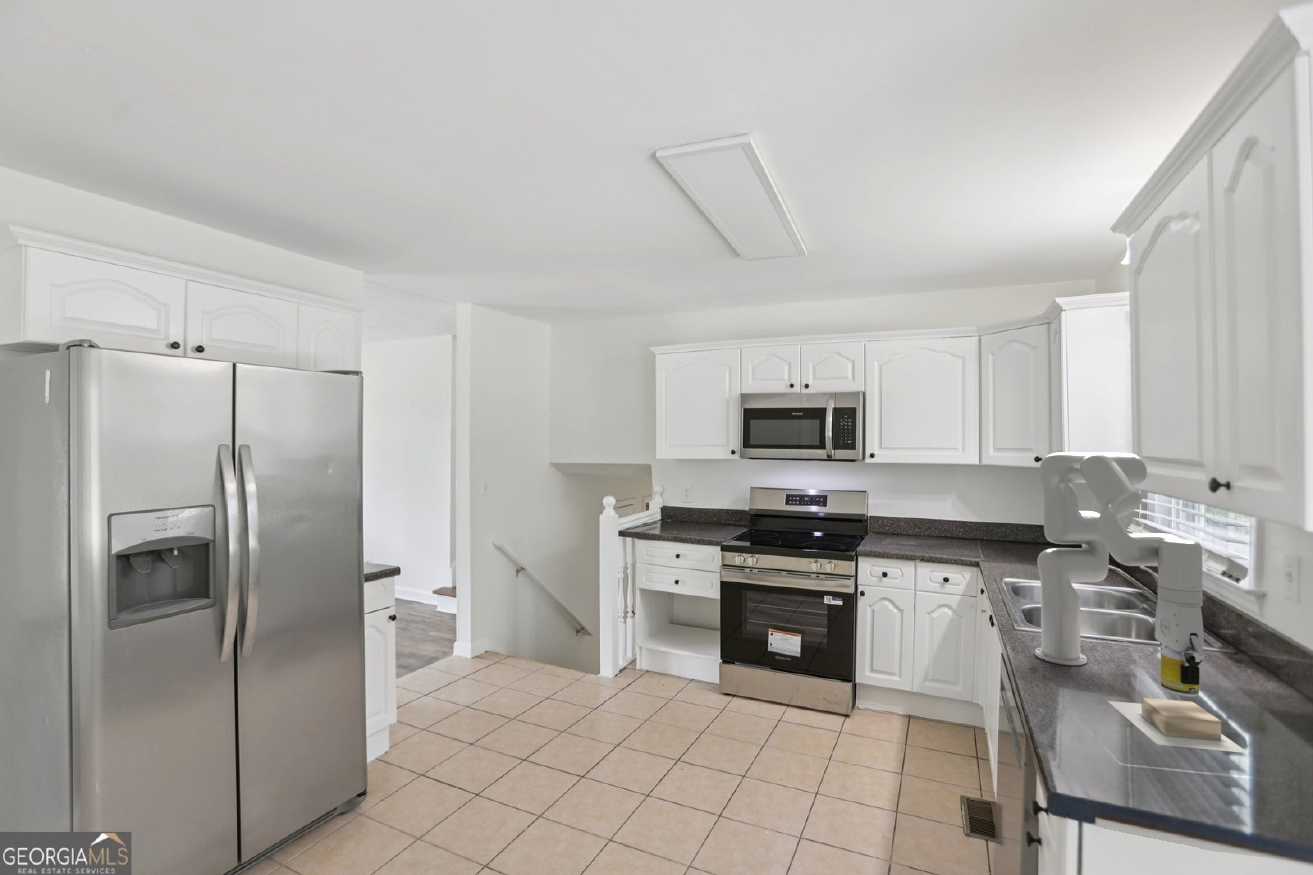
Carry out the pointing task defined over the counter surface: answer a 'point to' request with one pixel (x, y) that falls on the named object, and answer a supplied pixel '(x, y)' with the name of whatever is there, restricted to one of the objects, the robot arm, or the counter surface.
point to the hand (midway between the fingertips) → (1179, 677)
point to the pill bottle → (1175, 673)
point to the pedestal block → (1181, 718)
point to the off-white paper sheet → (1135, 716)
